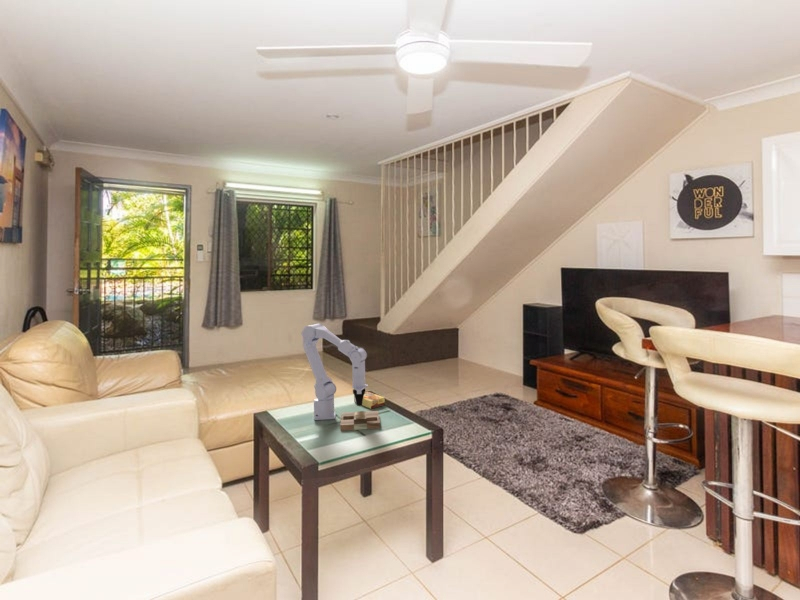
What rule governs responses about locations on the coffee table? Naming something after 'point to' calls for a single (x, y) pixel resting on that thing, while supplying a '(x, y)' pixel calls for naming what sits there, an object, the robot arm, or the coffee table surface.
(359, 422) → the board
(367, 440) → the coffee table surface
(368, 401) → the candy box
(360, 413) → the block
